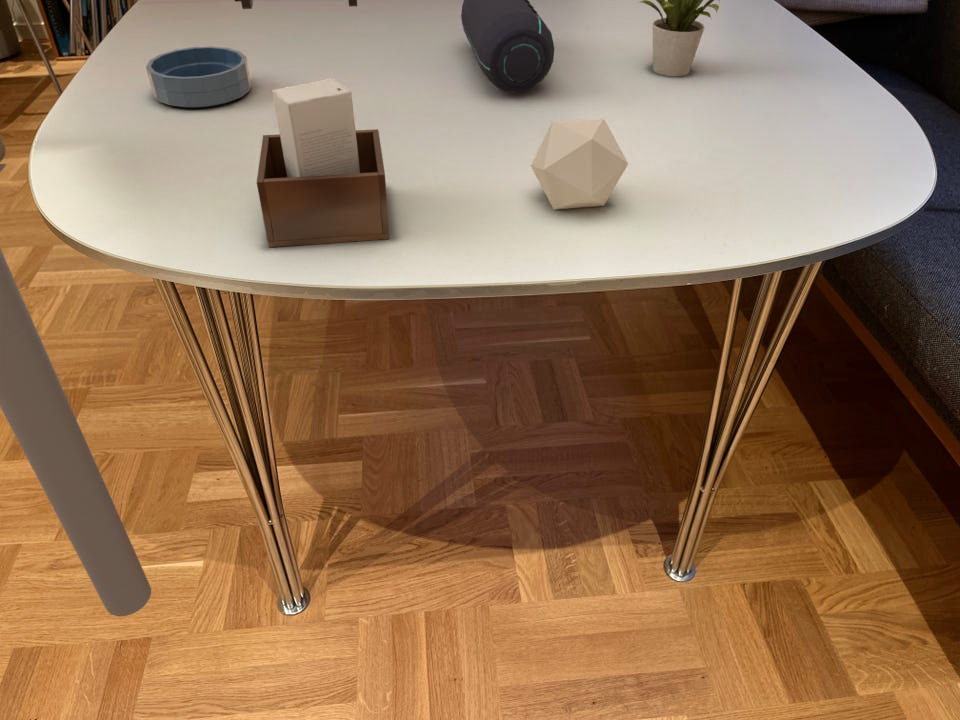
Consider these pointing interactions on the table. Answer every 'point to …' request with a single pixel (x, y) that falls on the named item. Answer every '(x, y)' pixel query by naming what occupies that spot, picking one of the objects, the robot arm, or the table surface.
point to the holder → (323, 198)
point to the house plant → (677, 35)
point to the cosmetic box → (317, 129)
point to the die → (578, 163)
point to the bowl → (199, 76)
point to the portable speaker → (508, 42)
